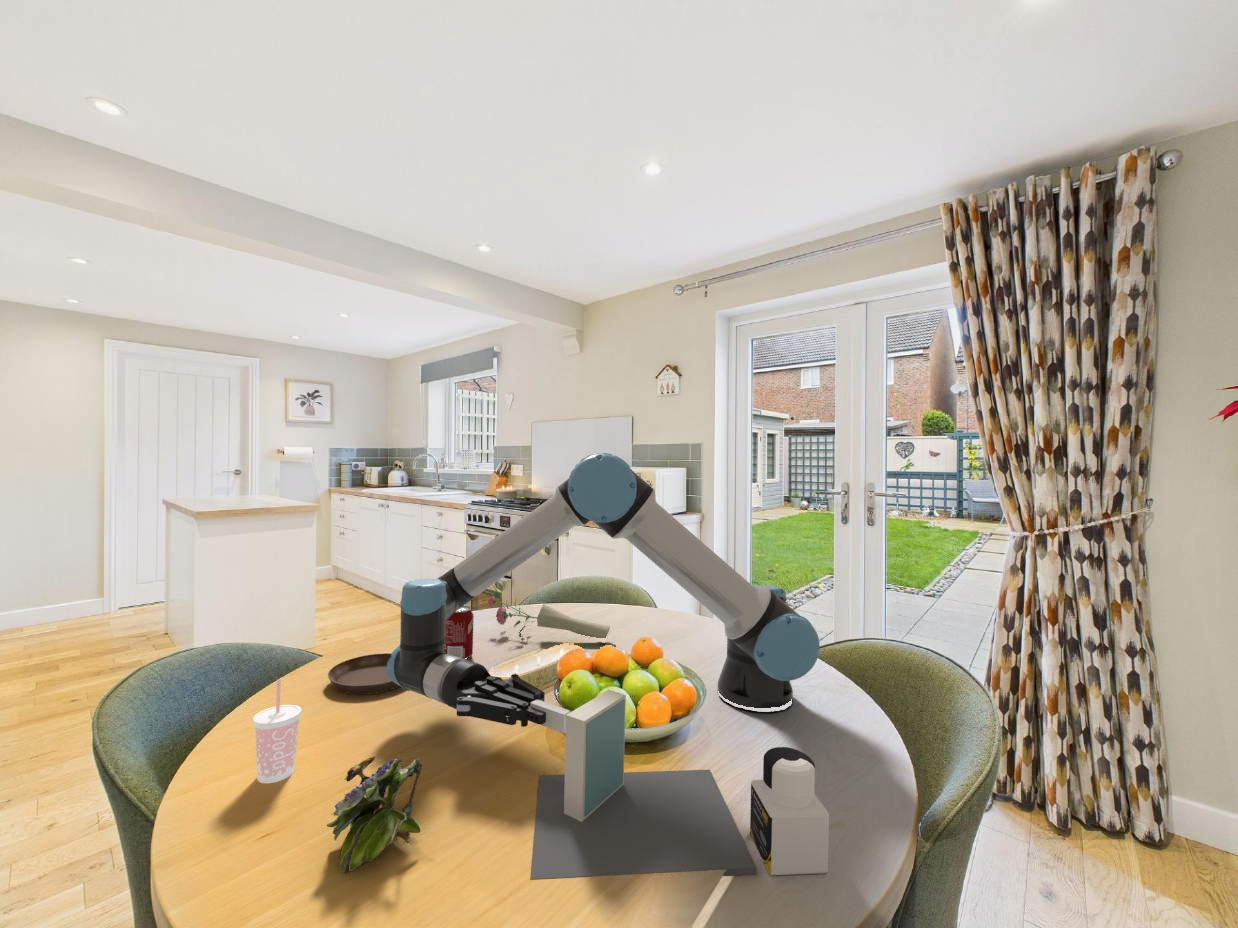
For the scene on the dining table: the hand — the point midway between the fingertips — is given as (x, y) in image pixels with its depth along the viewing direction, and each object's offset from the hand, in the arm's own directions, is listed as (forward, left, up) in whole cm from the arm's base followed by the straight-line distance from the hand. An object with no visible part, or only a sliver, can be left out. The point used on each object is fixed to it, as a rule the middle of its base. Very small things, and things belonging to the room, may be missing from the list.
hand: (566, 721), depth 76 cm
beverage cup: (+43, -7, -10) cm, 45 cm away
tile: (-4, +3, -9) cm, 10 cm away
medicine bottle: (-27, +14, -10) cm, 32 cm away
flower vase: (+5, -69, -10) cm, 70 cm away
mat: (-9, +7, -10) cm, 15 cm away
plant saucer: (+41, -42, -10) cm, 59 cm away
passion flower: (+23, +8, -10) cm, 26 cm away
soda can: (+26, -55, -10) cm, 61 cm away
